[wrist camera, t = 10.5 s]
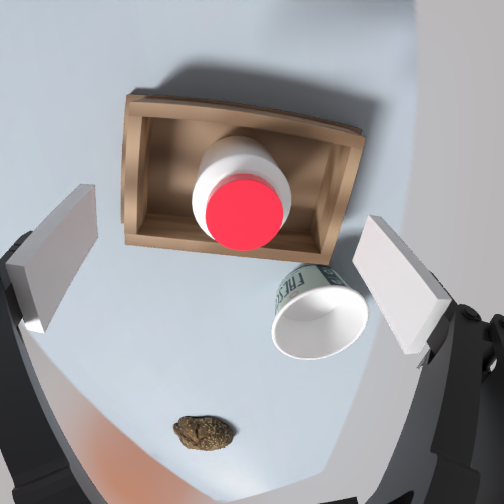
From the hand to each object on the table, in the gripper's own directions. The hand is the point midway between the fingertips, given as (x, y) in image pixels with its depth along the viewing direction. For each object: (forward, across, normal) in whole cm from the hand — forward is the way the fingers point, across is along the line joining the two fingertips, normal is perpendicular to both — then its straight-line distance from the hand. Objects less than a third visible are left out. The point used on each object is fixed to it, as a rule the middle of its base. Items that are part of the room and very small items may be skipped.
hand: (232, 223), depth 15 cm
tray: (+19, +2, -3) cm, 19 cm away
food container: (+19, +13, -18) cm, 30 cm away
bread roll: (+19, +1, -56) cm, 59 cm away
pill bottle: (+18, +2, -3) cm, 19 cm away
